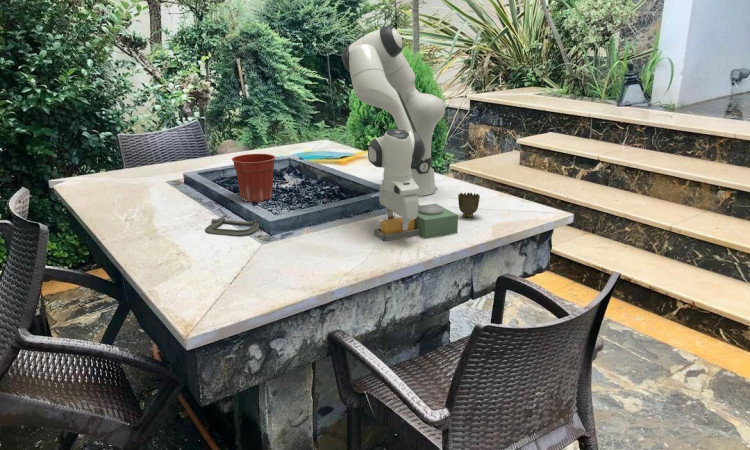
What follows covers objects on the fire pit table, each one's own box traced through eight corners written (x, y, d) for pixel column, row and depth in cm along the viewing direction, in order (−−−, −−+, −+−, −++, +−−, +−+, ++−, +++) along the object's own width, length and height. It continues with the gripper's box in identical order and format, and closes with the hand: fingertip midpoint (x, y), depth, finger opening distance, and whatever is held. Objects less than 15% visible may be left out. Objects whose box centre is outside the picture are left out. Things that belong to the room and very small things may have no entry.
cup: (478, 221, 196) (479, 198, 193) (456, 219, 197) (457, 197, 194) (479, 214, 203) (480, 192, 200) (457, 213, 204) (458, 191, 201)
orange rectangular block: (380, 235, 183) (380, 220, 182) (408, 230, 187) (408, 216, 186) (386, 239, 180) (386, 224, 178) (414, 234, 184) (414, 219, 182)
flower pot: (262, 190, 236) (259, 151, 231) (286, 197, 225) (284, 157, 220) (227, 198, 225) (223, 157, 220) (250, 206, 214) (247, 164, 209)
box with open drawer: (369, 231, 187) (369, 210, 185) (435, 220, 197) (435, 200, 195) (388, 244, 175) (388, 222, 173) (457, 232, 185) (458, 211, 182)
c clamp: (192, 233, 189) (191, 225, 188) (224, 217, 204) (223, 210, 203) (245, 240, 182) (244, 232, 181) (273, 223, 197) (273, 216, 196)
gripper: (374, 176, 186) (374, 217, 190) (403, 192, 168) (403, 236, 173) (391, 174, 188) (391, 214, 193) (422, 189, 171) (421, 233, 175)
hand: (397, 225), depth 183 cm, fingers open, 8 cm apart
